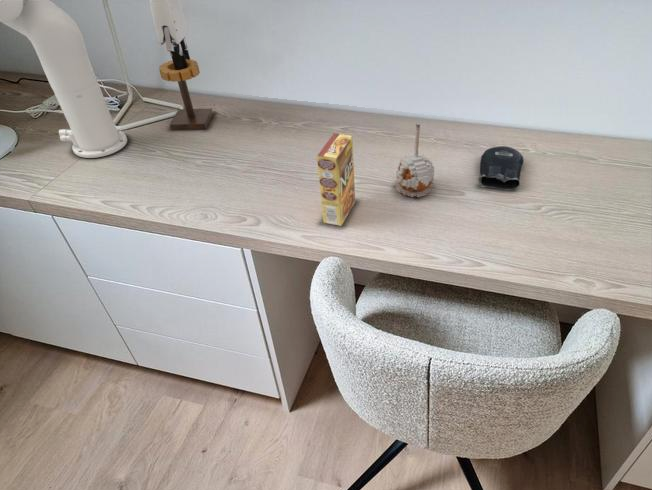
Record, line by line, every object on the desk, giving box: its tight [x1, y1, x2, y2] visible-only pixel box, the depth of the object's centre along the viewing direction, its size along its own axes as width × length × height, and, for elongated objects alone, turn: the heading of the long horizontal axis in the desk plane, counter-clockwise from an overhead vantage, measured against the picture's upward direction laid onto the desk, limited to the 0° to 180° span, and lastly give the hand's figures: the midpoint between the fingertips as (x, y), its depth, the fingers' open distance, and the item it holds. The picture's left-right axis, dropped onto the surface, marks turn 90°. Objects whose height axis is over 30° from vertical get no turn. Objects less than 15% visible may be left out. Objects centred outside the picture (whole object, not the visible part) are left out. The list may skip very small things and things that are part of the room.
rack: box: [169, 80, 214, 131], centre depth 127 cm, size 9×9×12 cm
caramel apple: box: [395, 122, 435, 198], centre depth 101 cm, size 8×8×15 cm
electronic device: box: [477, 145, 524, 191], centre depth 110 cm, size 9×6×15 cm
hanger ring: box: [158, 58, 201, 82], centre depth 122 cm, size 9×9×2 cm
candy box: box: [316, 133, 356, 227], centre depth 95 cm, size 9×4×15 cm, turn 162°
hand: (183, 68), depth 125 cm, fingers closed on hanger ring, 2 cm apart
